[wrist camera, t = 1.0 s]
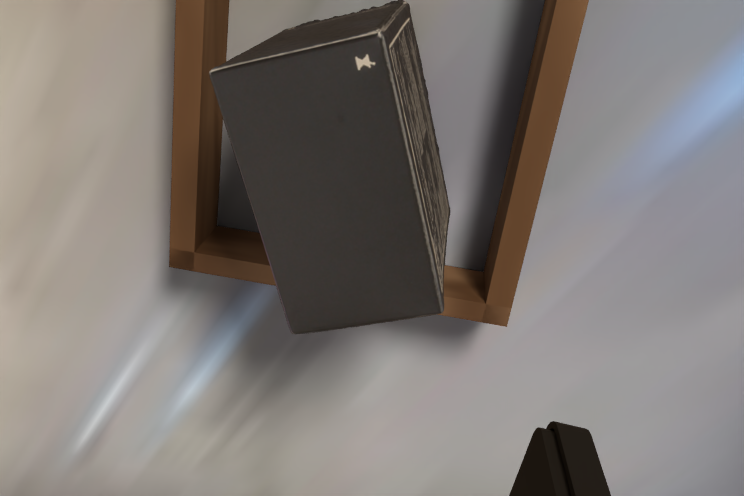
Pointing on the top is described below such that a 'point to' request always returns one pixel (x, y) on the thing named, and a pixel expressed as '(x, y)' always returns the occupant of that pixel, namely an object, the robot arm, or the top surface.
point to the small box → (341, 168)
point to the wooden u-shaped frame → (245, 248)
